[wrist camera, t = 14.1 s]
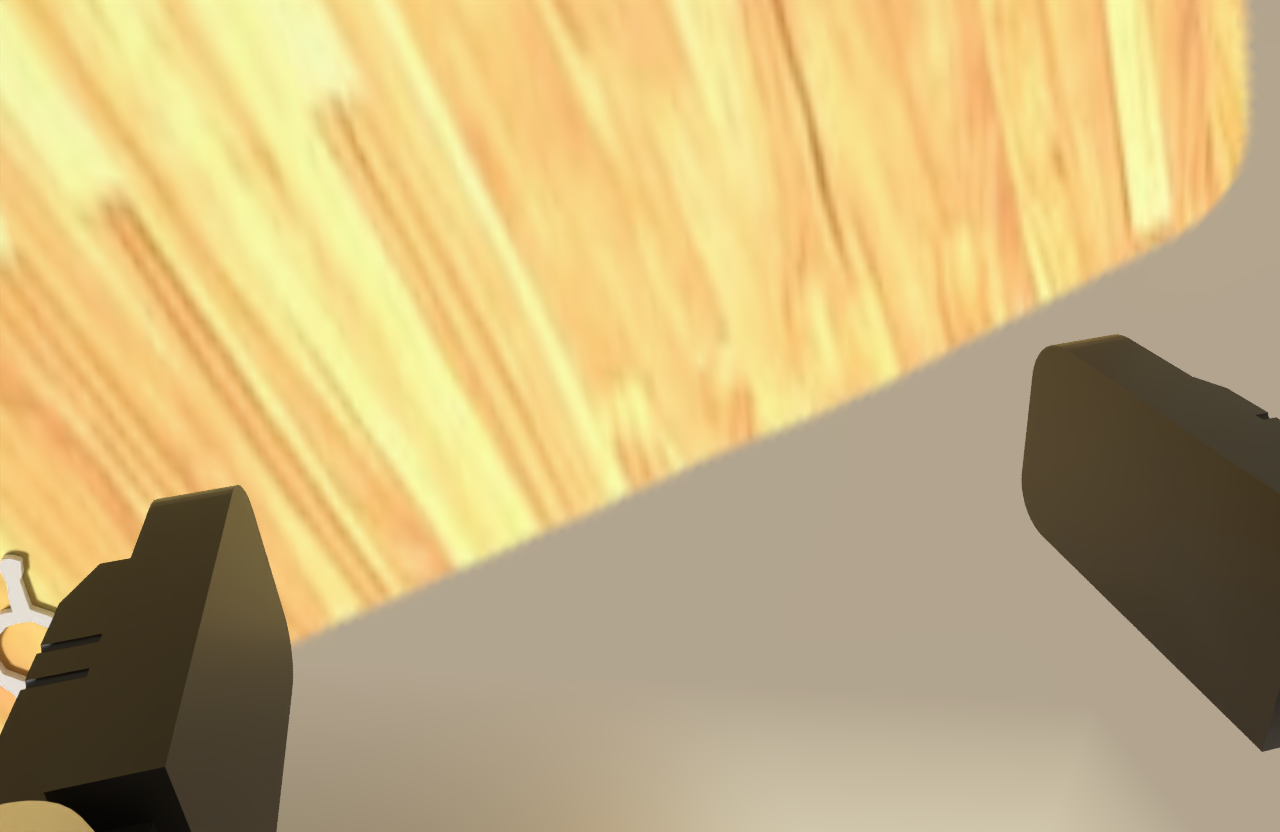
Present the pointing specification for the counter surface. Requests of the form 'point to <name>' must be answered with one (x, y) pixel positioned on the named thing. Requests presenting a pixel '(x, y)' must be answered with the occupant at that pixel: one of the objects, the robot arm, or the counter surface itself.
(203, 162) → the counter surface
